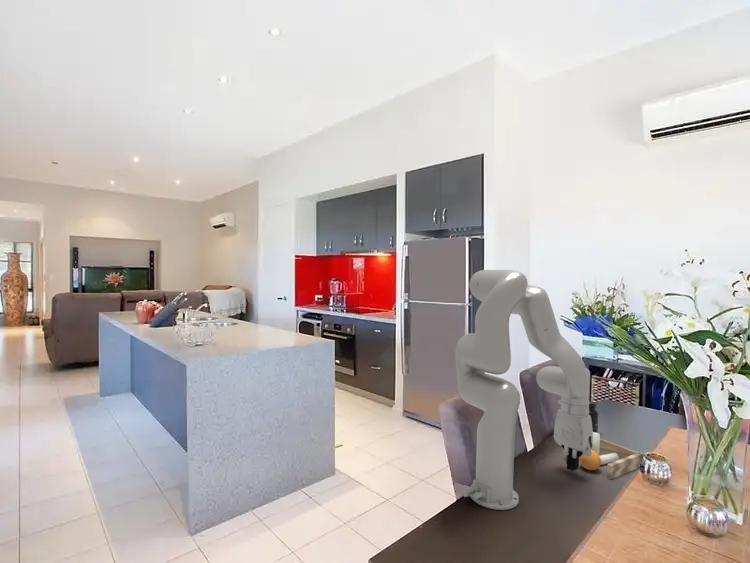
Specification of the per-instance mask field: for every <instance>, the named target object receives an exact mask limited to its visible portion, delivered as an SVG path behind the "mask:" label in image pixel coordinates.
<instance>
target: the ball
mask: <svg viewBox="0 0 750 563" xmlns="http://www.w3.org/2000/svg"><path fill="white" fill-rule="evenodd" d="M591 453H592V454H591V455H590V456H585V455H582V456H581V457H579V464H580V465H581V467H583V468H584V469H586V470H588V471H596V470H598V469H599V468H600V467H601V465H600V464H601V459H600V456H601V455H600V454H599V455H598V453H597V452H595V451H594V450H591Z"/></svg>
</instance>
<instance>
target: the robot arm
mask: <svg viewBox="0 0 750 563" xmlns="http://www.w3.org/2000/svg"><path fill="white" fill-rule="evenodd" d="M528 283H529V282H528V279H527V276H526V275H525V274H524V273H522V272H520V271H517V270H514V269H513V270H511V269H482V270H478V271H477V272H474V274H473V275H472V276H471V277H470V280H469V290H470V293H471V295H472V296H473V297H474V298H475V299H476V300H478V301H479V302H481V303H480V305H479V306H478V308H477V311H476V313H475V317H474V333H473V332H470V333H465V334H464V335H462V337H460V339H459V340H458V342H457V343H456V346H455V353H454V354H455V356H454V360H455V368H456V369H455V370H456V380H457V381H456V382H457V389H458V393H459V395H460V397H461V399H462V400H463V401H464V403H465V402H466V403H467V404H468V405H471V406H473V407H475V408H477V409H479V410H482V412H483V415H482V417H481V419H480V420H479V422H478V424H477V428H476V454H475V455H476V456H475V457H476V458H475V460H476V461H475V479H473V480H472V484H471V485H470V486H469V487H466V488H463V489H462V490H461V494H462V496H463V497H464V498H468V497H470V498H471V500H472V501H473V502H475V503H476V504H478V505H480V506H481V507H484V508H487V509H490V510H491V509H492V510H499V511H505V510H506V511H507V510H511V509H513V508H515V507H517V505H518V504H519V501H520V498H519V494H518V492H516V490H514V468H515V466H514V464H515V463H514V462H515V433H516V423H517V416H518V412H519V408H520V404H521V394H520V391H519V389H518V388H517V387H516V385H515V384H513V383H512V382H511V381H509V380H507V379H505V378H502V377H499V375H504V374H506V373H507V372H508V371H509V370H510V367H511V362H512V354H511V353H512V352H511V342H510V341H511V340H510V339H511V338H510V317H511V316H512V315H511V314H513V315H518V316H520V319H521V322H522V324H523V328H524V330H525V333H526V336H527V340H528V342H529V344H530V345H531V346H532V347H533V348H535V349H536V350H537V351H538V352H540V353H542V354H543V355H545V356H547V357H548V358H550V360H552V361H553V362H555V364H556V365H558V366H554V365H547V366H544V367H541V368H540V369H539V370H538V372H537V373H536V376H535V377H536V383H537V385H538V387H540V388H541V390H544V391H545V392H548V393H552V394H555V395H557V396H558V395H559V396H560V398H561V399H560V398H559V399H558V400H557V403H558V405H560V408H558V410H557V413H556V416H555V421H554V429H553V438H554V439H553V440H554V441H555V443H556V444H558V445H559V446H560V447H561V448H562V449H563V452H564V451H565V454H566V455H567V460H566V469H567V470H570V471H571V472H573V471H577V470H578V469H579V467H580V461H579V457H581V456H582V455H585V456H590V455H591V454H592V453H591V448H592V446H593V429H592V421H591V416H590V415H589V401H590V390H591V389H590V388H591V386H590V385H591V371H590V370H589V369H588V368H587V367H586V364H585V363H584V360H583V359H582V357H581V355H580V354H579V353H578V351H577V350H576V349H575V348H574V347H573V346H572V345H571V344H570V342H569V341H568V340H566V339H565V337H564V336H563V335H561V333H560V330H559V327H558V323H557V319H556V317H555V314H554V310H553V308H552V304H551V300H550V297H549V295H548V292H547V291H546V290H545V289H543V288H542V287H540V286H536V285H529V284H528ZM497 375H498V376H497Z"/></svg>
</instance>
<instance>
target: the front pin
mask: <svg viewBox="0 0 750 563" xmlns="http://www.w3.org/2000/svg"><path fill="white" fill-rule="evenodd" d="M599 456H600V459H601V464H600V466H604V465H607V464H610V463H612V462H615V461H617V460H620V459H619V456H618V455H617V454H616V453H611V454H602V455H601V454H600V455H599Z"/></svg>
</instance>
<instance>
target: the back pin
mask: <svg viewBox="0 0 750 563" xmlns="http://www.w3.org/2000/svg"><path fill="white" fill-rule="evenodd" d="M600 438H601V434H600V433H599V432H598V433H596V432H593V446H592V448H591V450H594V451H595V452H597V453H598V455H599V456H600V451H599V449H600Z"/></svg>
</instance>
